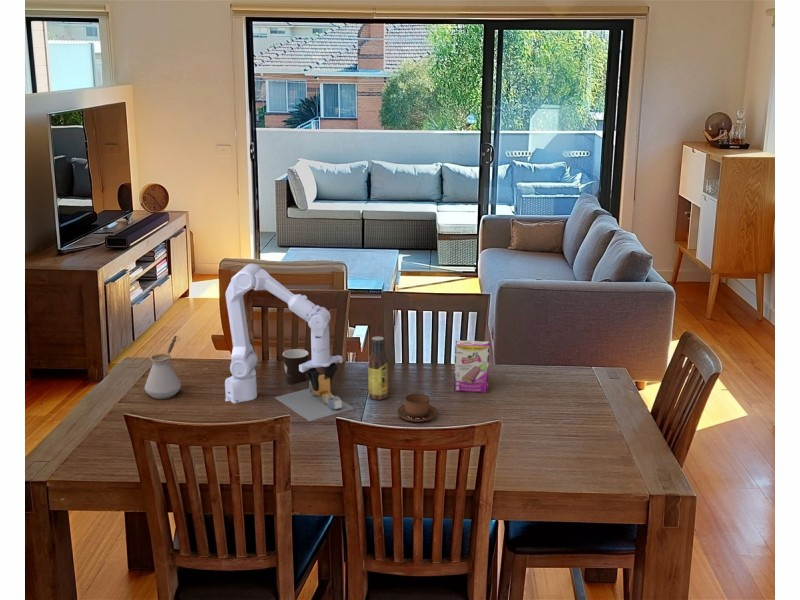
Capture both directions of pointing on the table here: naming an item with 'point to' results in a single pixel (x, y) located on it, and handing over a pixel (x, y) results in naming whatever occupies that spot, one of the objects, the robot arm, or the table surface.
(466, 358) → the candy bar box
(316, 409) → the base board
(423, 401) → the cup and saucer
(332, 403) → the shaft rig
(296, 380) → the coffee mug
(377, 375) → the sauce bottle
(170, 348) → the coffee pot
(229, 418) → the table surface
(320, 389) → the brown square block
